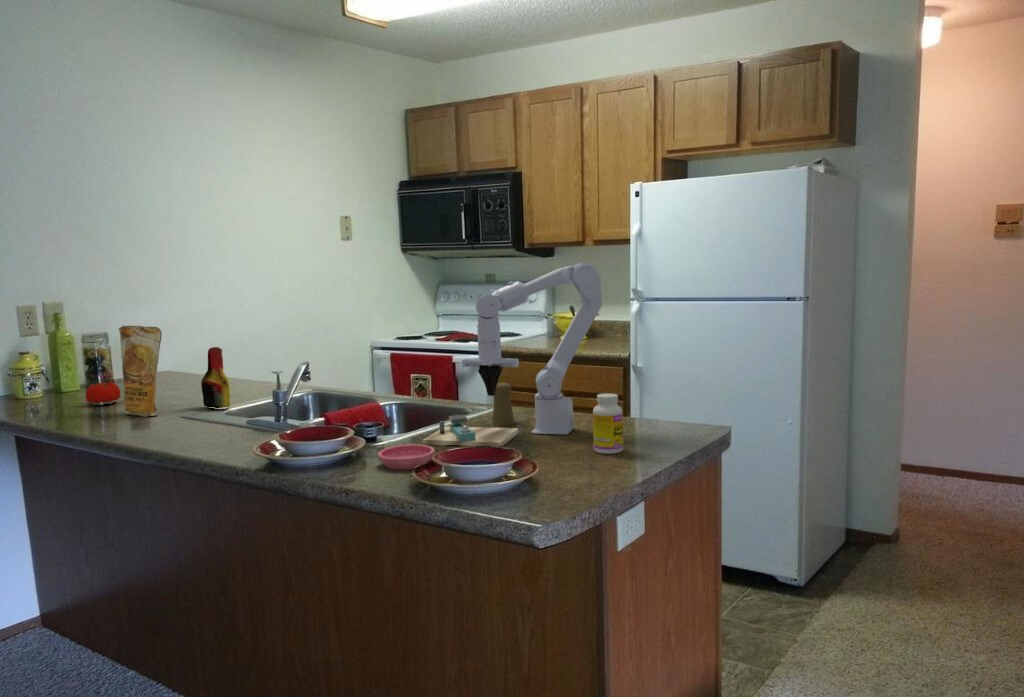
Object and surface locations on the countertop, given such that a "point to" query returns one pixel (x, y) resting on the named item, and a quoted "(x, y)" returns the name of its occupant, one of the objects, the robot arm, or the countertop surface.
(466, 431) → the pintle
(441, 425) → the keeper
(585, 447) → the countertop surface
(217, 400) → the bottle
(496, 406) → the cork
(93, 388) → the tomato
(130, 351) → the pancake mix bag
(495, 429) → the base board
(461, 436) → the link
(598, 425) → the supplement bottle
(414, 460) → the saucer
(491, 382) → the robot arm
